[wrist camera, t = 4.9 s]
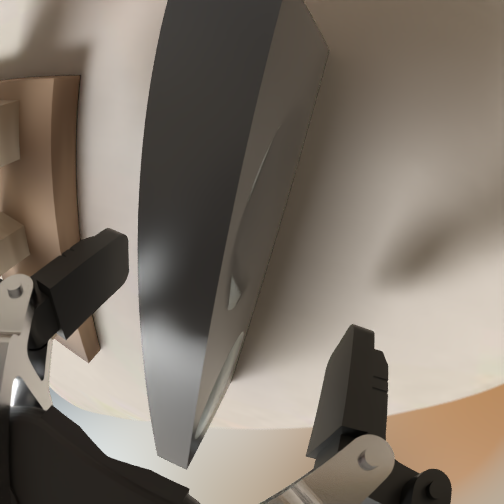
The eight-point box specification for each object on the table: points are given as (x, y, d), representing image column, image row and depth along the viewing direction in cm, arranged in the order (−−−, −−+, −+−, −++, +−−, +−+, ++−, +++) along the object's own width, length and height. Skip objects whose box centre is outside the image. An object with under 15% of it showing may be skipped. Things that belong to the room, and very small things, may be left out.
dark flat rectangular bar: (281, 39, 7) (174, -27, 2) (329, 51, 7) (288, -23, 2) (207, 369, 16) (157, 455, 11) (231, 380, 16) (186, 469, 11)
